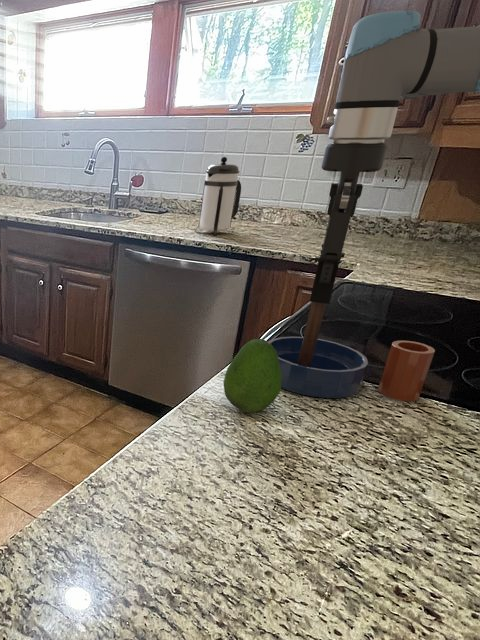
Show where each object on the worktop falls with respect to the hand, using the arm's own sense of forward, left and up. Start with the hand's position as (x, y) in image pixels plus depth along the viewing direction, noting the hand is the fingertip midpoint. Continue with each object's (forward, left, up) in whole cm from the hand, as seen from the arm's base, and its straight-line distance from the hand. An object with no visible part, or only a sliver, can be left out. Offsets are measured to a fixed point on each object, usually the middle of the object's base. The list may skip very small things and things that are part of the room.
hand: (319, 299), depth 84 cm
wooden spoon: (0, 0, -13) cm, 13 cm away
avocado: (+14, +6, -15) cm, 22 cm away
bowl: (-2, -1, -15) cm, 15 cm away
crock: (-12, +7, -15) cm, 21 cm away
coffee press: (-62, -136, -15) cm, 150 cm away
